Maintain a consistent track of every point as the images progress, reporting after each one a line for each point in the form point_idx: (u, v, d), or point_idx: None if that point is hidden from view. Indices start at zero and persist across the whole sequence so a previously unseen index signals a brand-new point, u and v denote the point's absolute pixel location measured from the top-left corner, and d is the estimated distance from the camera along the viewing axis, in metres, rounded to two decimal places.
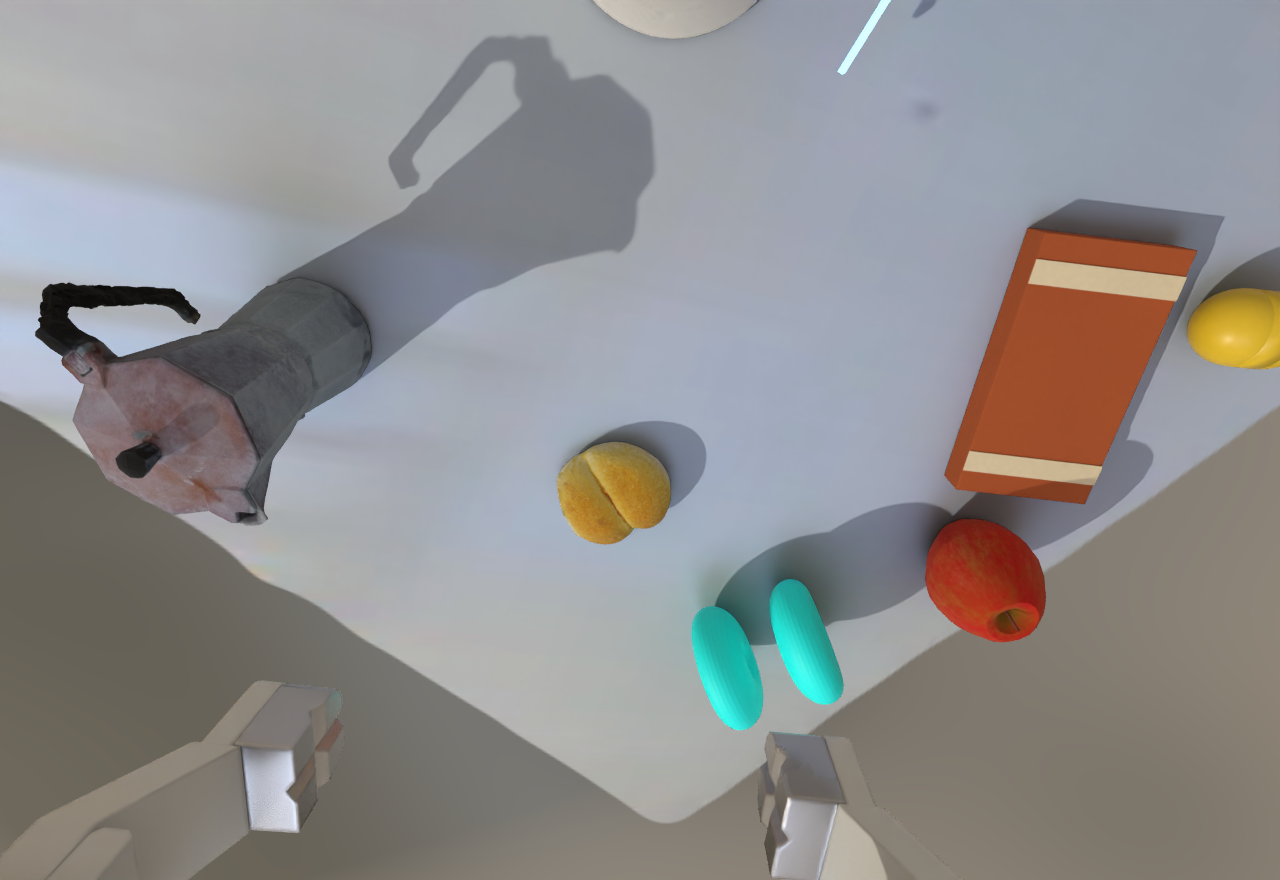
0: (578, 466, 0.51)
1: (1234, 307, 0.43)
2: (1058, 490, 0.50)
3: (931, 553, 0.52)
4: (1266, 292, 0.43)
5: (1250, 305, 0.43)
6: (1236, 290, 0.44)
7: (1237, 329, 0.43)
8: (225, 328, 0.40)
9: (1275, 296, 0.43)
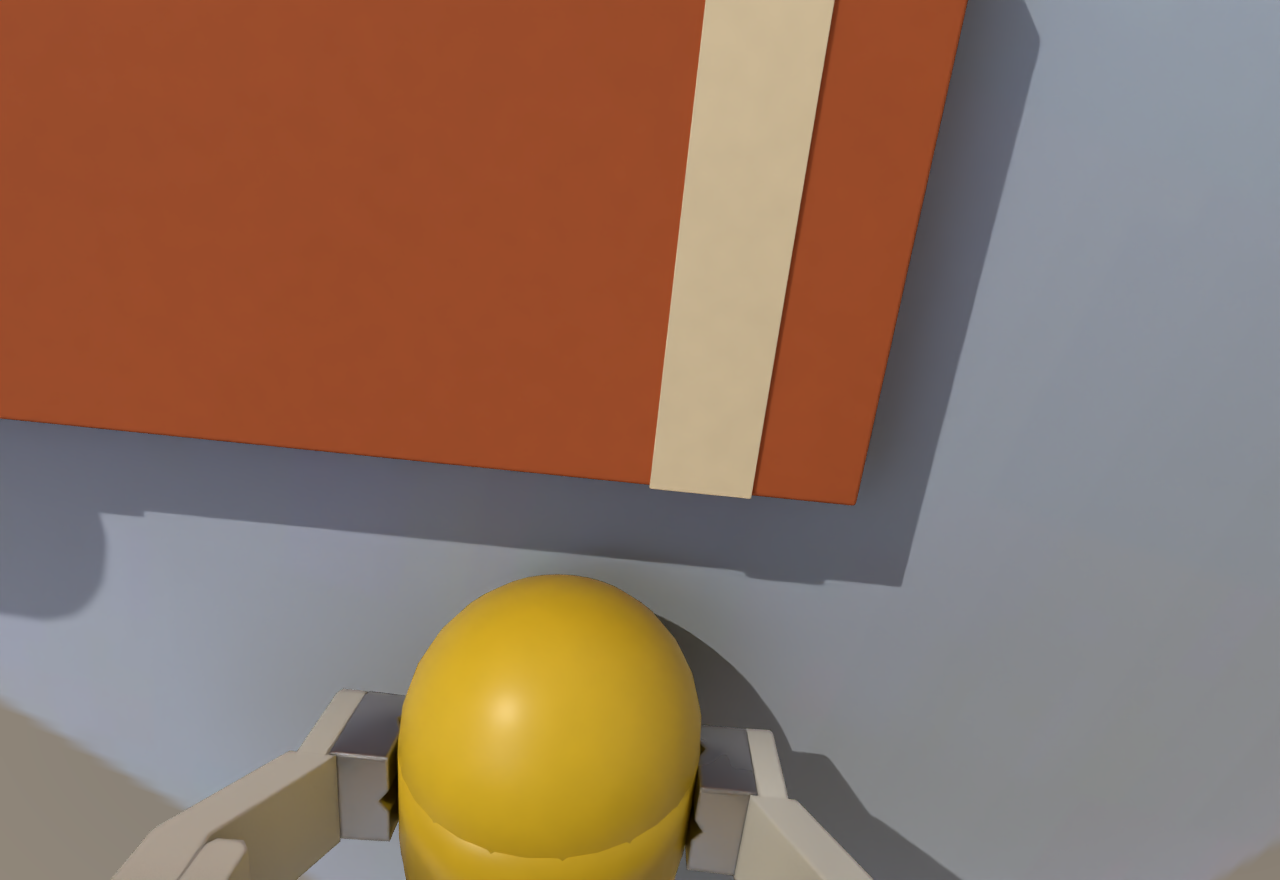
0: None
1: (642, 694, 0.10)
2: None
3: None
4: (695, 776, 0.11)
5: (657, 746, 0.10)
6: (693, 683, 0.12)
7: (553, 733, 0.09)
8: None
9: (685, 810, 0.11)
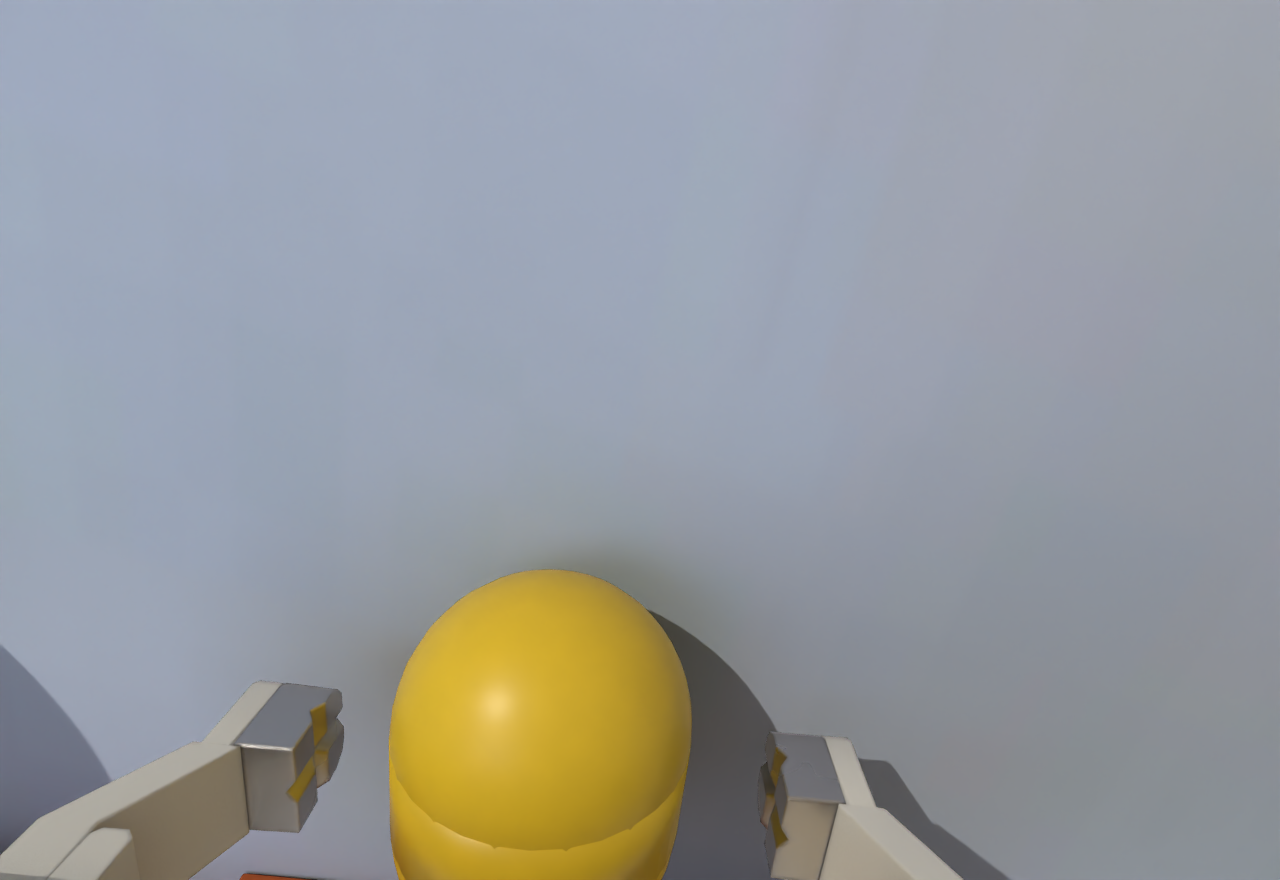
0: None
1: (639, 683, 0.10)
2: None
3: None
4: (687, 762, 0.12)
5: (654, 734, 0.10)
6: (682, 671, 0.12)
7: (554, 726, 0.09)
8: None
9: (679, 795, 0.11)
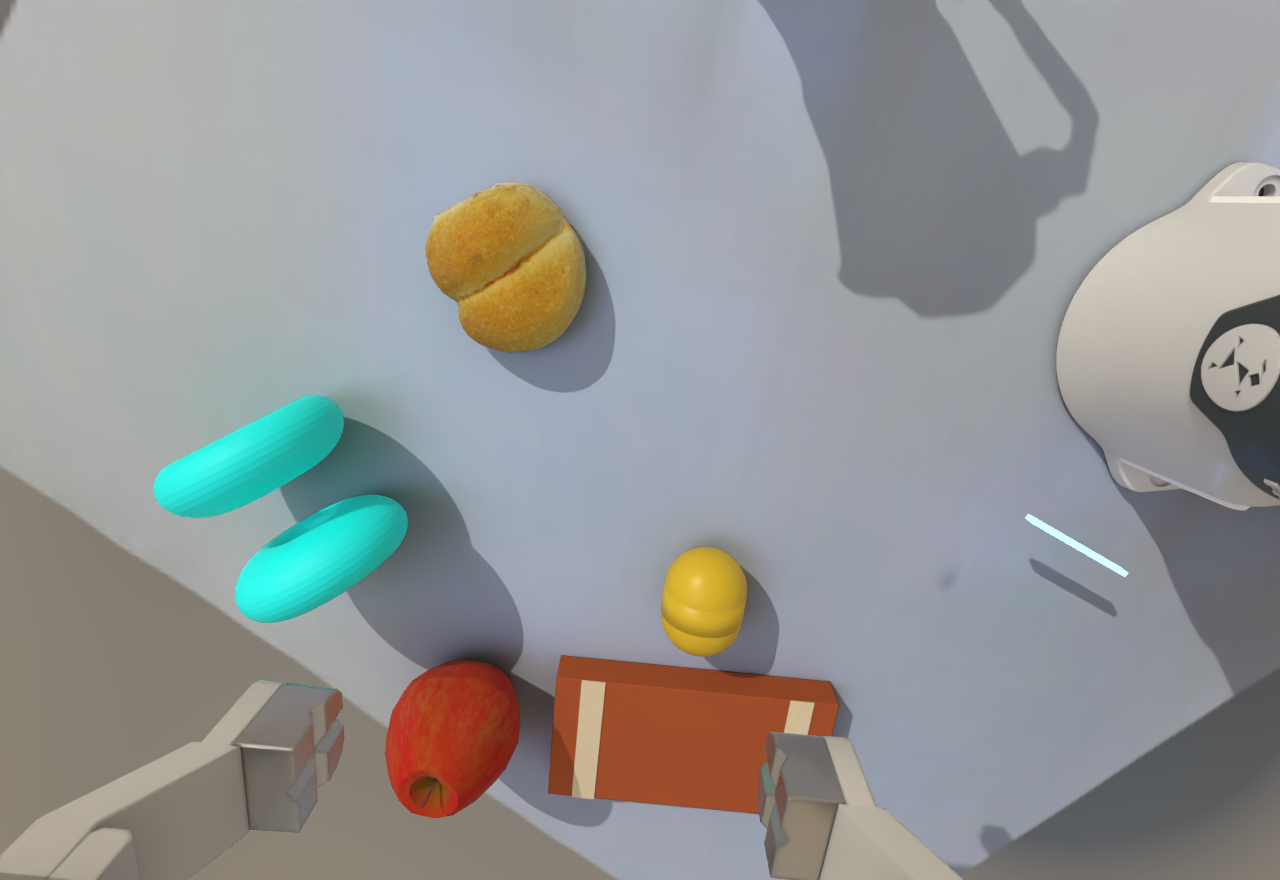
0: (554, 220, 0.35)
1: (739, 567, 0.41)
2: (562, 768, 0.47)
3: (475, 671, 0.43)
4: None
5: (745, 578, 0.41)
6: None
7: (732, 580, 0.40)
8: None
9: None
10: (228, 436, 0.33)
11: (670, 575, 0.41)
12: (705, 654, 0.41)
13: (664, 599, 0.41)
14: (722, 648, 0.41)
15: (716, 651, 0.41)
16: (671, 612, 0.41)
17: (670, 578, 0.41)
